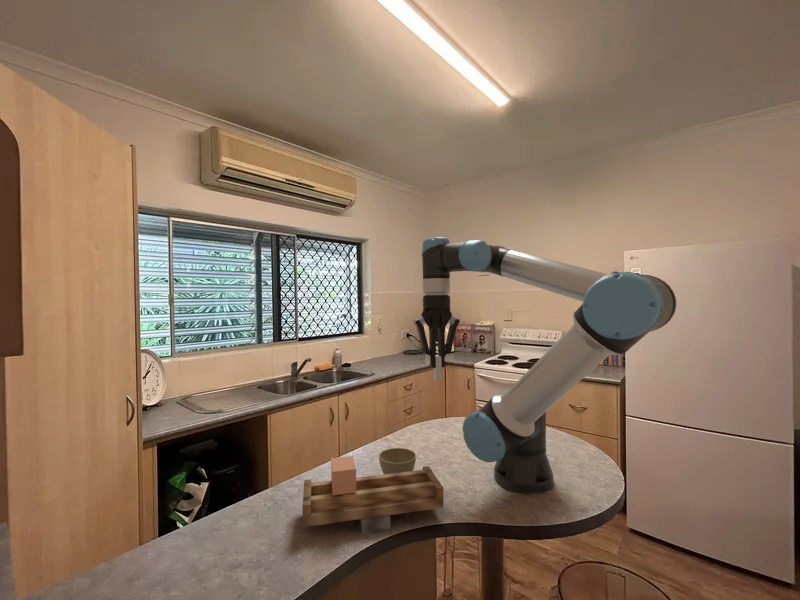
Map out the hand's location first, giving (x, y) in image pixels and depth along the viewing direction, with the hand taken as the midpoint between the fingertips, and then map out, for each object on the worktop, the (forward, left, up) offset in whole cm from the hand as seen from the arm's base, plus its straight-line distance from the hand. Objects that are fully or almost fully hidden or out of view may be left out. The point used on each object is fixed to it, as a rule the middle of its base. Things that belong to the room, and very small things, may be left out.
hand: (437, 379), depth 105 cm
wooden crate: (+8, +25, -26) cm, 37 cm away
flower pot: (+9, +8, -27) cm, 29 cm away
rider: (+13, +29, -21) cm, 38 cm away
